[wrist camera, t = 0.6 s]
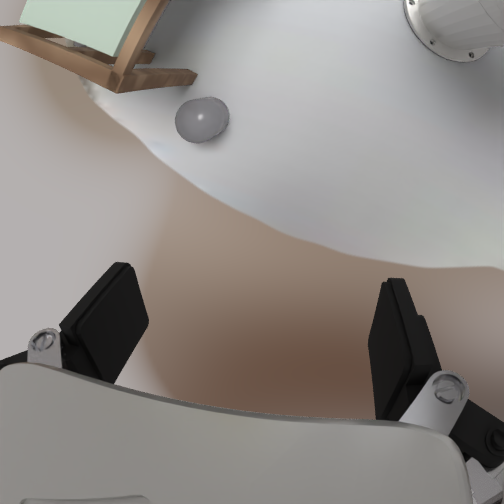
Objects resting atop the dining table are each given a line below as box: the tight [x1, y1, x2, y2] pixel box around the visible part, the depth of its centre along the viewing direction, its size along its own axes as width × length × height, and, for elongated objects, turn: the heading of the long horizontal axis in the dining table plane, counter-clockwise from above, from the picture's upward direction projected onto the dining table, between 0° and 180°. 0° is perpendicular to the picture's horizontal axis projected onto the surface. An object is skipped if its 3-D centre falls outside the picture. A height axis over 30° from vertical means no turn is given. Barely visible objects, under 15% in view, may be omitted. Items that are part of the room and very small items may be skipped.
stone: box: [175, 97, 230, 143], centre depth 35 cm, size 5×5×5 cm
